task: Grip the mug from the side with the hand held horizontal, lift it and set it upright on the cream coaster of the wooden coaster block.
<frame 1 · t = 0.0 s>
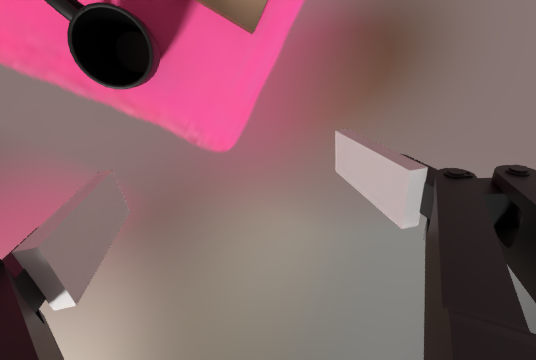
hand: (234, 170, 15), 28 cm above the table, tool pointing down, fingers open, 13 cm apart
mug: (124, 41, 35), on the table
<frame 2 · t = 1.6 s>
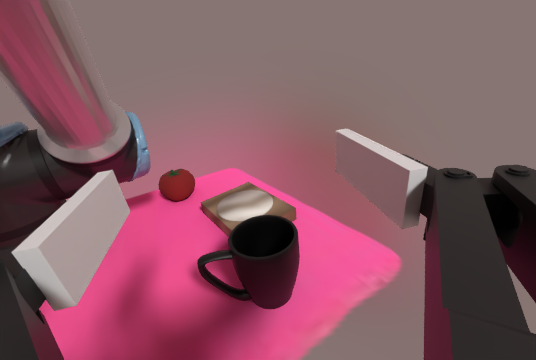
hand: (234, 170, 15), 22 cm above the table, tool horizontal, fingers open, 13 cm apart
tomato: (181, 197, 62), on the table
wooden coaster block: (247, 215, 50), on the table
mug: (258, 296, 33), on the table
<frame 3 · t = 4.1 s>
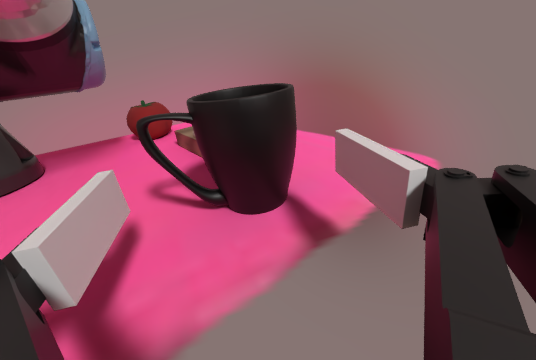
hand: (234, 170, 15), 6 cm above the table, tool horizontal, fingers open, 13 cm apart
tomato: (155, 137, 51), on the table
wooden coaster block: (231, 143, 40), on the table
mug: (238, 205, 23), on the table
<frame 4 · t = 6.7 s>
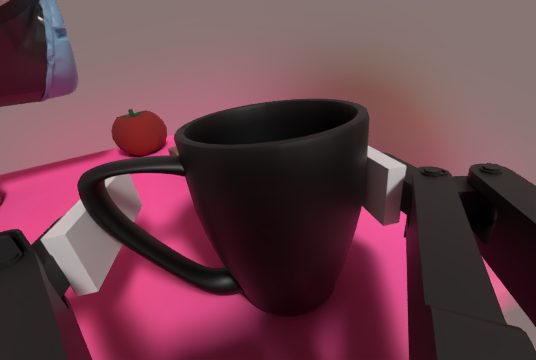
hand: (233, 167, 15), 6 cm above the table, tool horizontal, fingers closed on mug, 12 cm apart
tomato: (146, 152, 43), on the table
mug: (258, 286, 15), on the table, touching gripper
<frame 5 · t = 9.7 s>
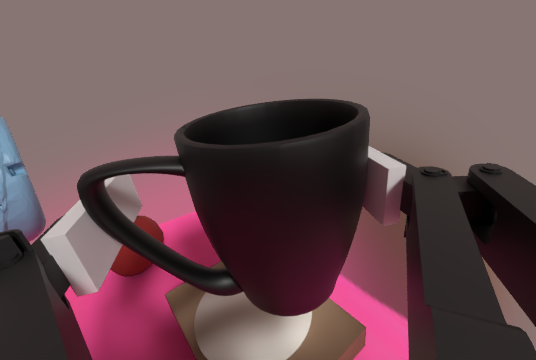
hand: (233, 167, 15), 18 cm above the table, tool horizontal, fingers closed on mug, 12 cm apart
tomato: (139, 263, 36), on the table
wooden coaster block: (257, 325, 25), on the table
mug: (258, 287, 15), point 12 cm above the table, touching gripper
when the fingers open (10 cm above the table, at t = 12.8 s): mug drops 1 cm, resting on wooden coaster block.
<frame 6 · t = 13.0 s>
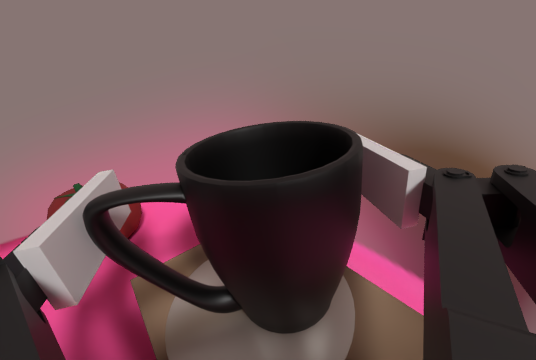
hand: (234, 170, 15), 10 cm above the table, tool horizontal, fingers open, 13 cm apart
tomato: (109, 242, 28), on the table
wooden coaster block: (265, 327, 16), on the table
mug: (257, 302, 15), point 3 cm above the table, touching wooden coaster block
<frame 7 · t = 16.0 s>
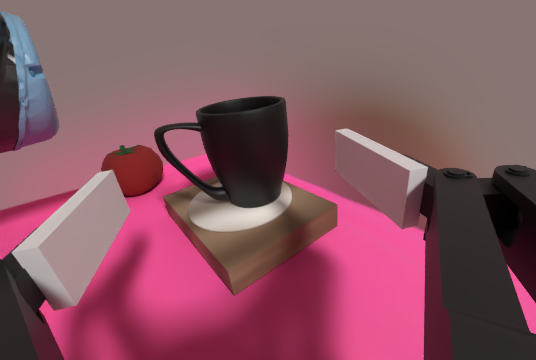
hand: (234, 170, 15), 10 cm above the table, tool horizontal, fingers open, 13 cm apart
tomato: (141, 190, 39), on the table
wooden coaster block: (244, 219, 28), on the table
mug: (238, 200, 27), point 3 cm above the table, touching wooden coaster block
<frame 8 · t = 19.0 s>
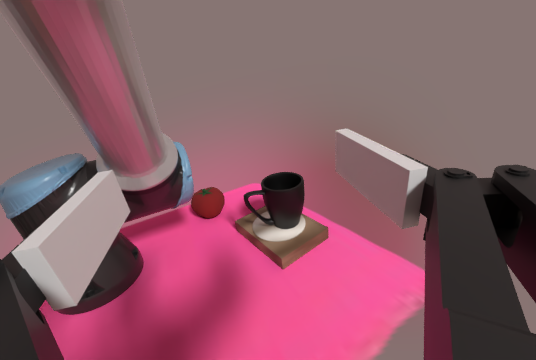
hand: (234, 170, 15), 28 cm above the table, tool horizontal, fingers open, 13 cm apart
tomato: (211, 213, 65), on the table
wooden coaster block: (280, 233, 54), on the table
mug: (278, 224, 52), point 3 cm above the table, touching wooden coaster block
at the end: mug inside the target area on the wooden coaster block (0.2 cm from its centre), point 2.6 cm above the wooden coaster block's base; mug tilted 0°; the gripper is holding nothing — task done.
